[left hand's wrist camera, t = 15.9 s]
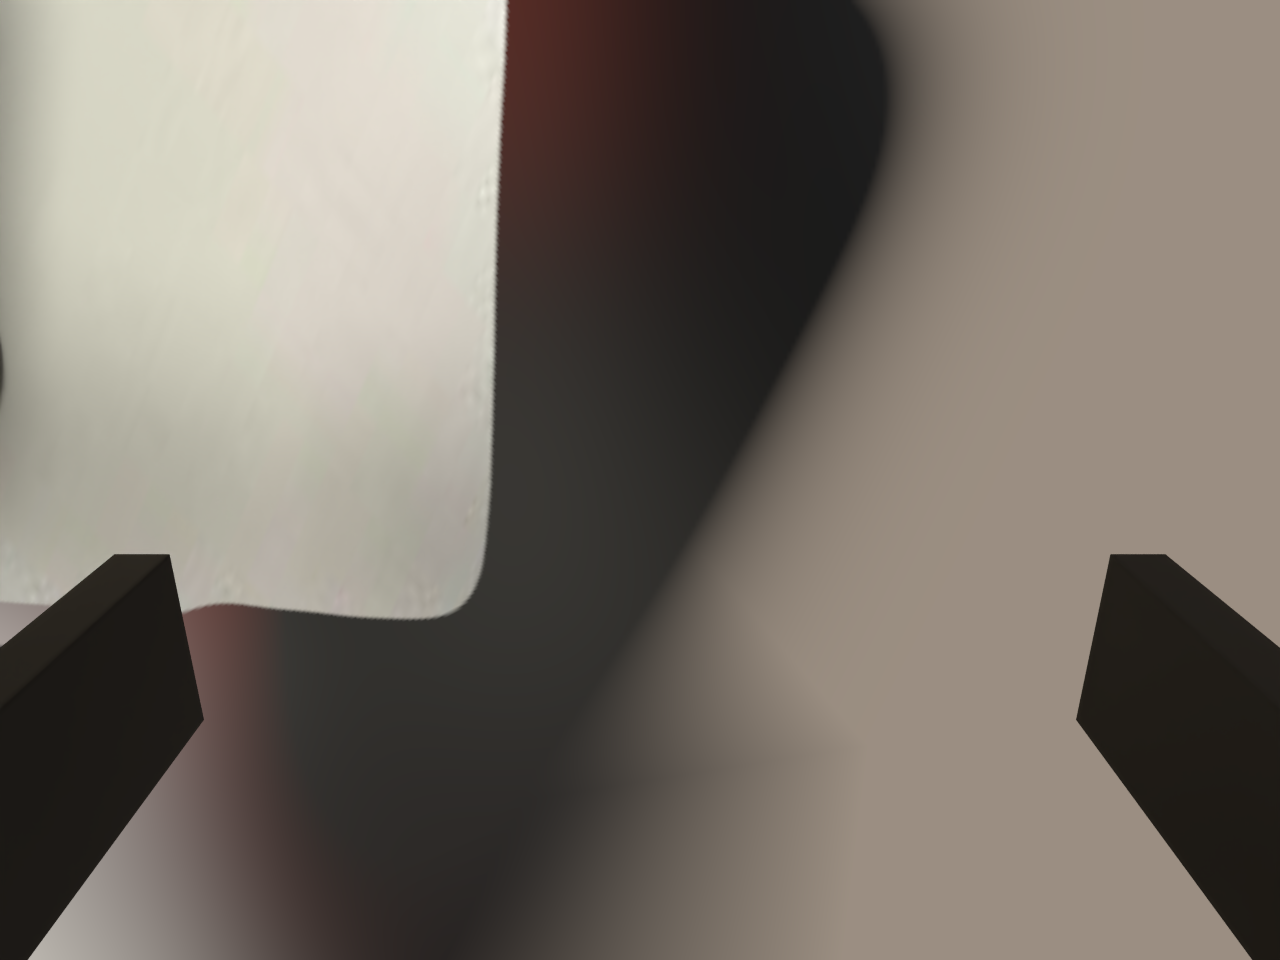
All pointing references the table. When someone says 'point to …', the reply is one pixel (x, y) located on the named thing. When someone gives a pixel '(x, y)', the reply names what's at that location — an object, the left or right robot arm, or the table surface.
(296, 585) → the table surface
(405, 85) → the table surface
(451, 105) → the table surface
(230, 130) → the table surface
